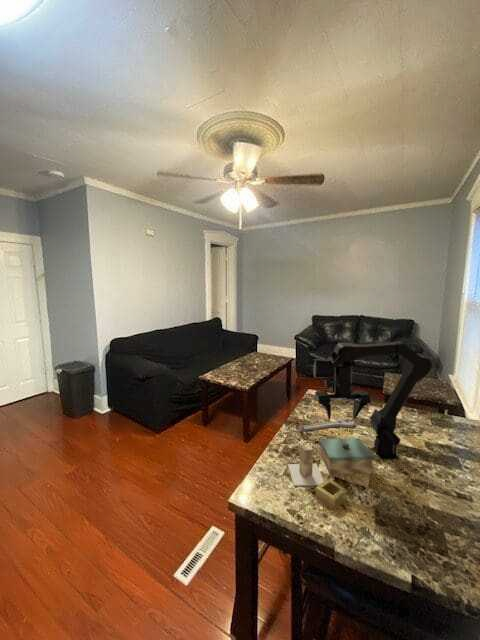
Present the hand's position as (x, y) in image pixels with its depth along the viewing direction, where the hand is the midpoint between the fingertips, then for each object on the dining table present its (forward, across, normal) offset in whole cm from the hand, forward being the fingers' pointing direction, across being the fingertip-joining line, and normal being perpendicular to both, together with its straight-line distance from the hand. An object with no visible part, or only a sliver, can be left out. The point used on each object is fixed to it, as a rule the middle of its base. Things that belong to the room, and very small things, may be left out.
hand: (341, 418), depth 102 cm
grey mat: (+13, +16, +12) cm, 24 cm away
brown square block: (+13, +16, +12) cm, 24 cm away
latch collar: (+13, +11, +22) cm, 28 cm away
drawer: (+13, +1, +7) cm, 15 cm away
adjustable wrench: (+14, -1, -19) cm, 23 cm away
